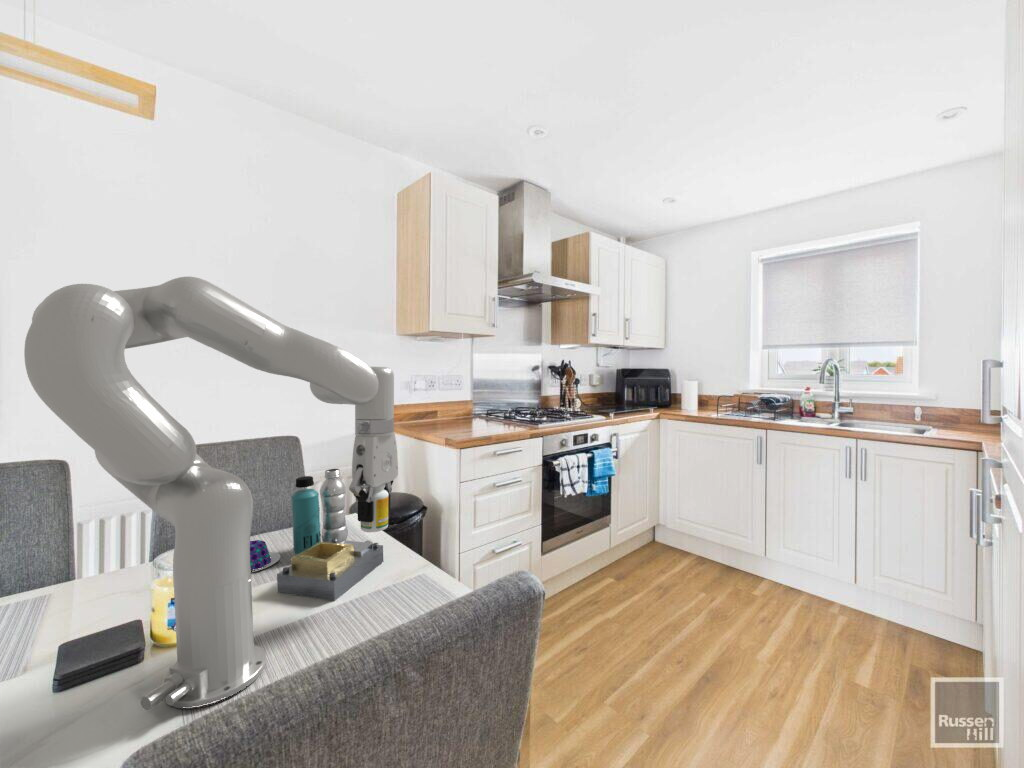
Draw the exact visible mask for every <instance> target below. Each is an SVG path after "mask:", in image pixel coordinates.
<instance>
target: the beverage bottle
mask: <svg viewBox="0 0 1024 768" xmlns="http://www.w3.org/2000/svg"><path fill="white" fill-rule="evenodd" d="M314 485H315V482H314V477H313V476H311V475H305V476H299V477H297V478H295V488H299V490H296V491H295V492H294V493H293V494H292V496H291V497H290V498H291V508H292V509H291V511H292V513H291V514H292V542H293V544H292V545H293V552H294V555H297V554H299V553H301V552H303V551H304V550H306V549H308V548H310V547H311V546H313V545H315V544H317V543H319V542H322V537H321V536H322V533H321V522H320V521H321V517H320V514H321V512H320V502H319V501H320V498H319V497H320V496H319V495H320V492H318V491H317V490H316V489H314V488H309V487H312V486H314ZM300 488H301V489H300Z"/></svg>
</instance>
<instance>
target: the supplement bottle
mask: <svg viewBox="0 0 1024 768" xmlns="http://www.w3.org/2000/svg"><path fill="white" fill-rule="evenodd" d="M364 485H367V484H366V482H365V484H364ZM384 488H385V484H383V485H380V486H378V487H374V488H373V494H372V499H371V501H374V520H373V521H372V522H361V521H360V529H361V530H360V531H362V532H365V533H376V532H377V533H378V532H381V531H384V530H387V528H388V526H389V513H388V492H387V491H386V490H384ZM367 490H368V489H366V488H364V491H365V492H366V494H367Z"/></svg>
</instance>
